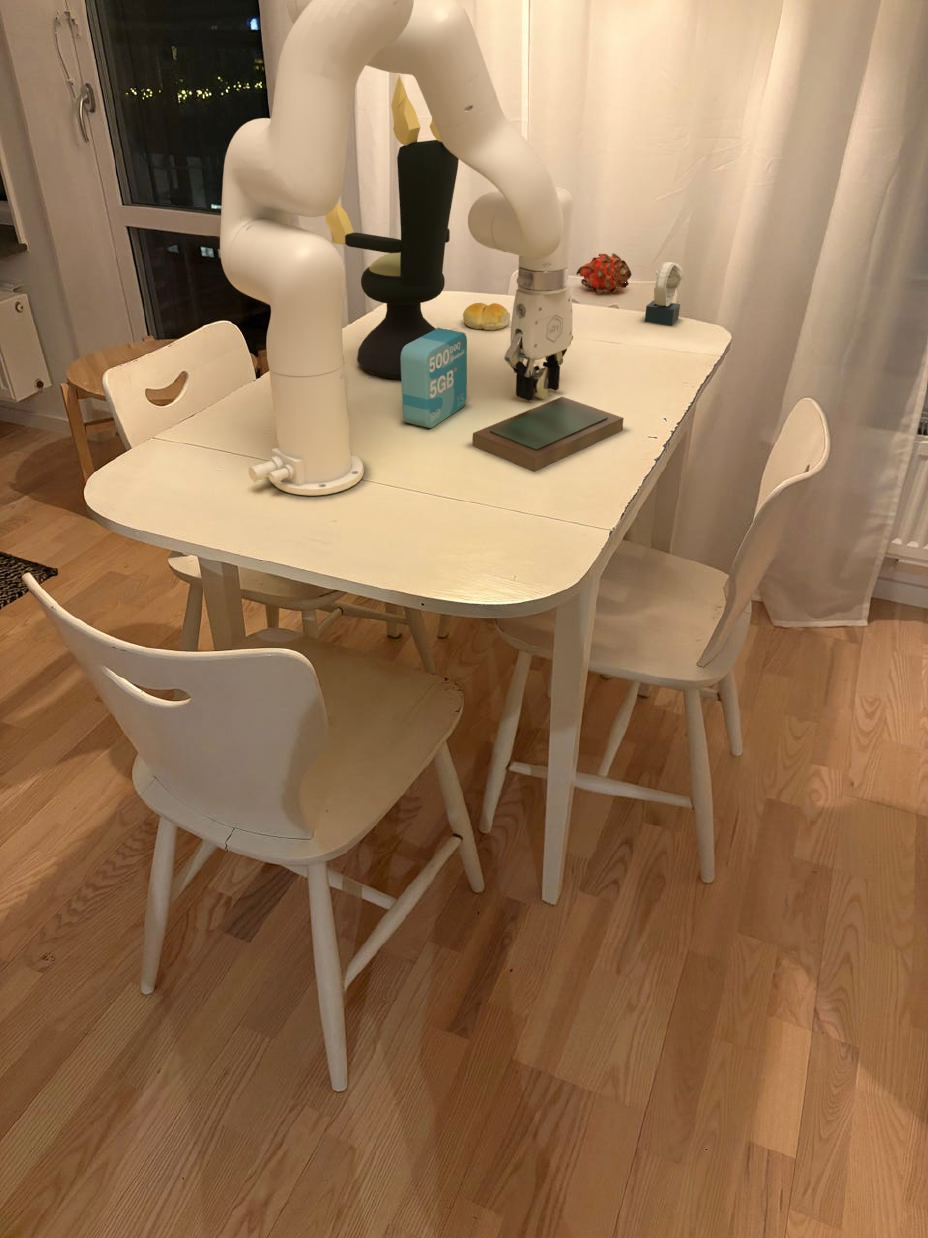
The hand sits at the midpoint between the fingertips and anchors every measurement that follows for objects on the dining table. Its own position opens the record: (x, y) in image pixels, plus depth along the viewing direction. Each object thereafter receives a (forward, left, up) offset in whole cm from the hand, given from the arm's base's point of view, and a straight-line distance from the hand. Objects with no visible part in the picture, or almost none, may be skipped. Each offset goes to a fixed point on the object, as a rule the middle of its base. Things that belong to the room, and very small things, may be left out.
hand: (537, 391), depth 149 cm
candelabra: (-5, +24, -1) cm, 24 cm away
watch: (+48, +9, -1) cm, 49 cm away
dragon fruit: (+56, +30, -1) cm, 63 cm away
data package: (-17, +6, -1) cm, 18 cm away
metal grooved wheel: (0, 0, -1) cm, 1 cm away
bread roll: (+21, +32, -1) cm, 38 cm away
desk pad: (-11, -12, -1) cm, 16 cm away
